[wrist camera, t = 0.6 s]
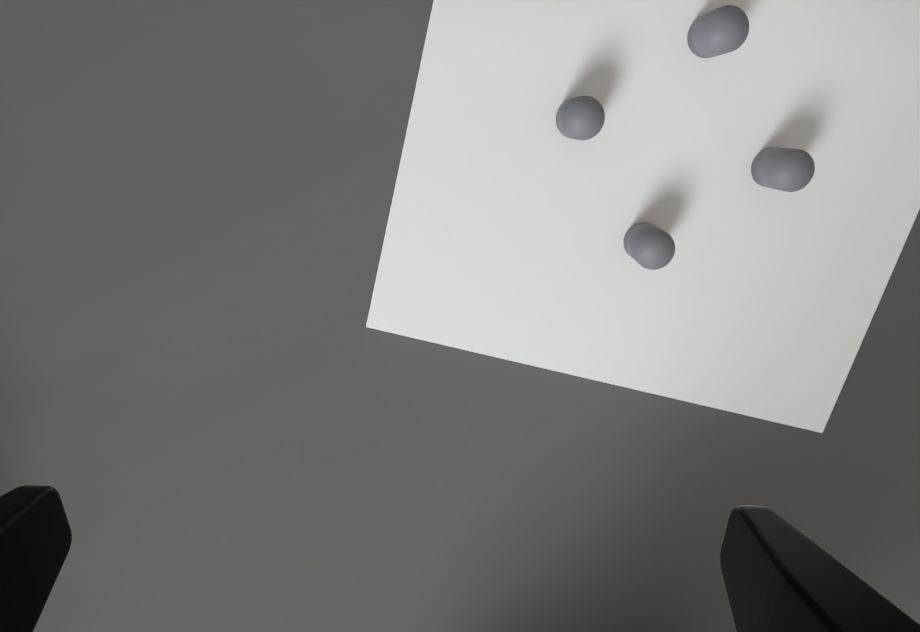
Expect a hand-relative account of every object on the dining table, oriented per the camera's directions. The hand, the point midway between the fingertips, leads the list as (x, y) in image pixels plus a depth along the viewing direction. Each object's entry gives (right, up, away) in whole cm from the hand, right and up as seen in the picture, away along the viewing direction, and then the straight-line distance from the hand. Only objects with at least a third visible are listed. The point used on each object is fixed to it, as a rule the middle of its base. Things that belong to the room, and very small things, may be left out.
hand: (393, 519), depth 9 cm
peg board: (+7, +8, +12) cm, 16 cm away
